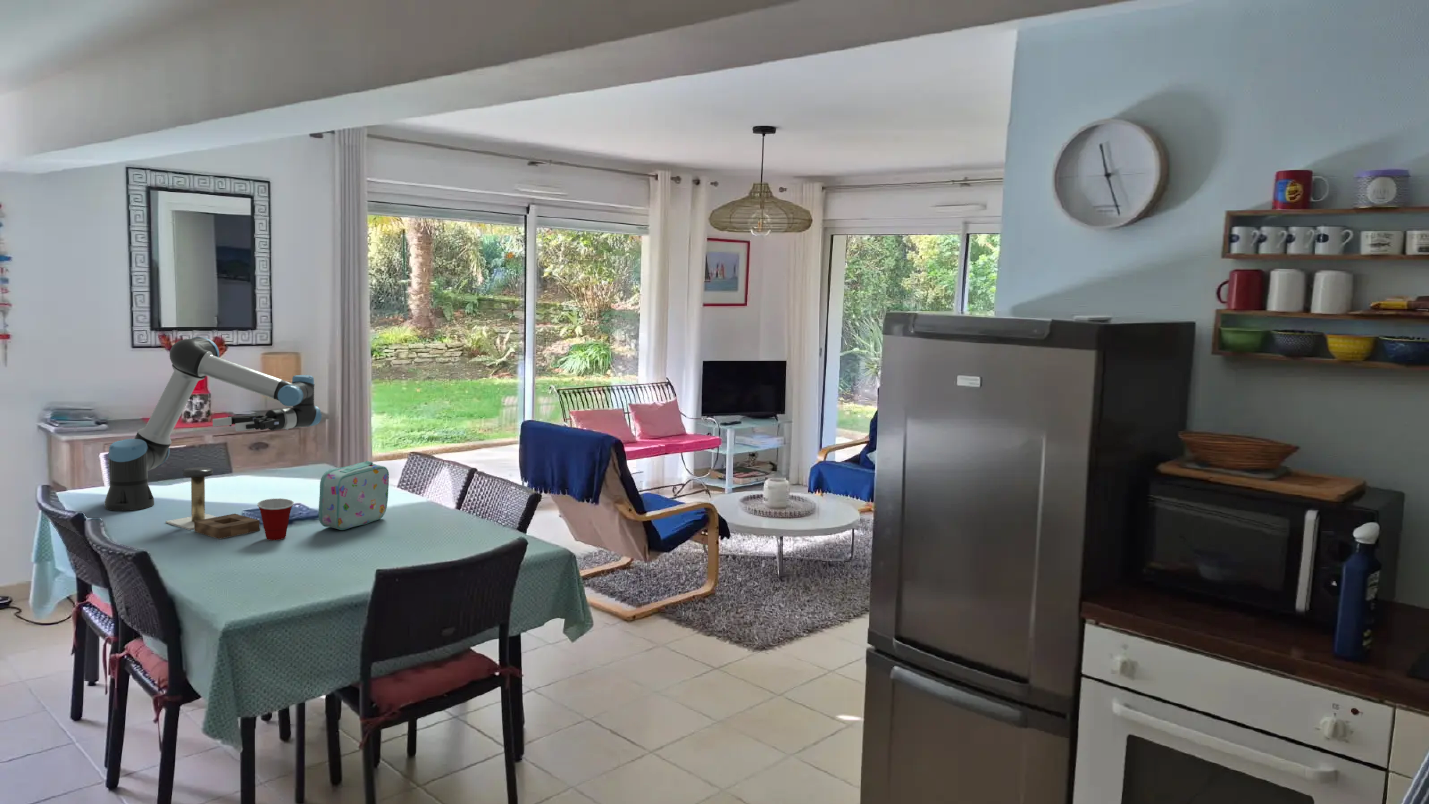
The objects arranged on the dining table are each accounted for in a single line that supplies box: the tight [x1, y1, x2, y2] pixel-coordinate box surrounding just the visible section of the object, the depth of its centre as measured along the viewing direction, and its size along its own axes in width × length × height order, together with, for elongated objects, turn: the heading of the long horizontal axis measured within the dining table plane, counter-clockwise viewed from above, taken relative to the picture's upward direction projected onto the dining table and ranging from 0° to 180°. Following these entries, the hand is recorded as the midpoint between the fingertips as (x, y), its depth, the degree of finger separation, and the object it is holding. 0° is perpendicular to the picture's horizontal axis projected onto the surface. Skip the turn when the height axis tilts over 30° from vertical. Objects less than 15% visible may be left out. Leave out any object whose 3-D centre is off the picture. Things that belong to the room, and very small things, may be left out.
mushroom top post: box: [182, 466, 214, 522], centre depth 324 cm, size 9×9×18 cm
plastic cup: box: [256, 498, 294, 541], centre depth 310 cm, size 11×11×12 cm
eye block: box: [193, 513, 261, 540], centre depth 316 cm, size 14×14×4 cm
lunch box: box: [317, 460, 390, 531], centre depth 332 cm, size 27×10×21 cm, turn 160°
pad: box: [165, 513, 217, 531], centre depth 325 cm, size 14×14×1 cm
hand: (224, 425), depth 333 cm, fingers open, 13 cm apart
